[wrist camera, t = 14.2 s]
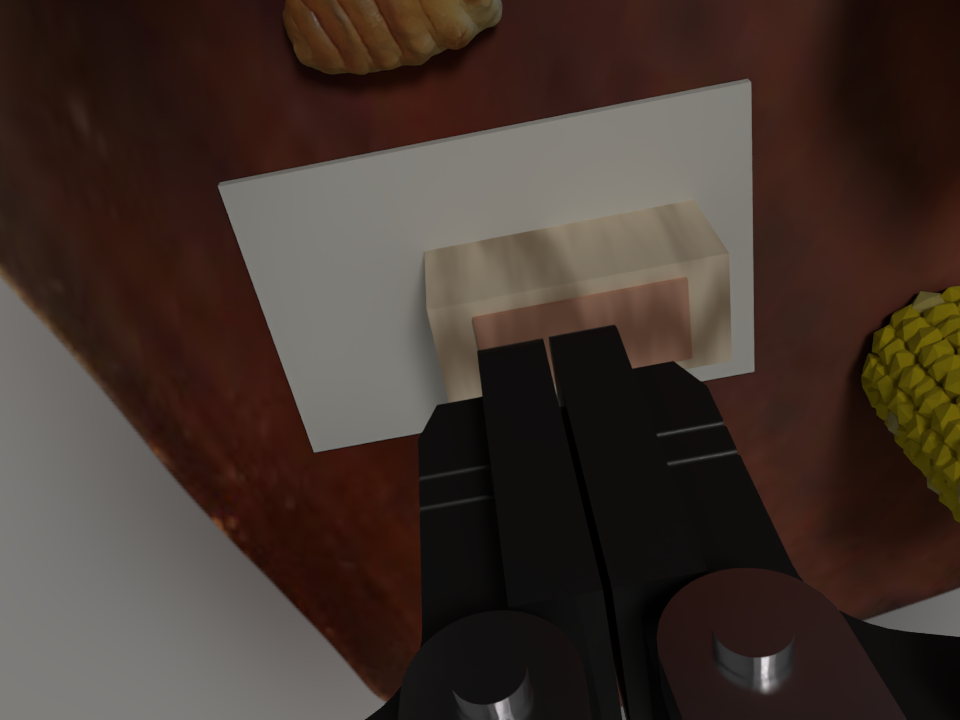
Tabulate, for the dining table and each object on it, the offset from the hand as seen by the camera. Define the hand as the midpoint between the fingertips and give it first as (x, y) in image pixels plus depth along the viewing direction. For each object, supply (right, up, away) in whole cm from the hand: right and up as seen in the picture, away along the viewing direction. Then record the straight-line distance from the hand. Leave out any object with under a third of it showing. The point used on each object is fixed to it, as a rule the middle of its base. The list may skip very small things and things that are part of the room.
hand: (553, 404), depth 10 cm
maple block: (-3, +2, +36) cm, 36 cm away
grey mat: (+1, +5, +39) cm, 39 cm away
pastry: (-4, +17, +31) cm, 36 cm away
